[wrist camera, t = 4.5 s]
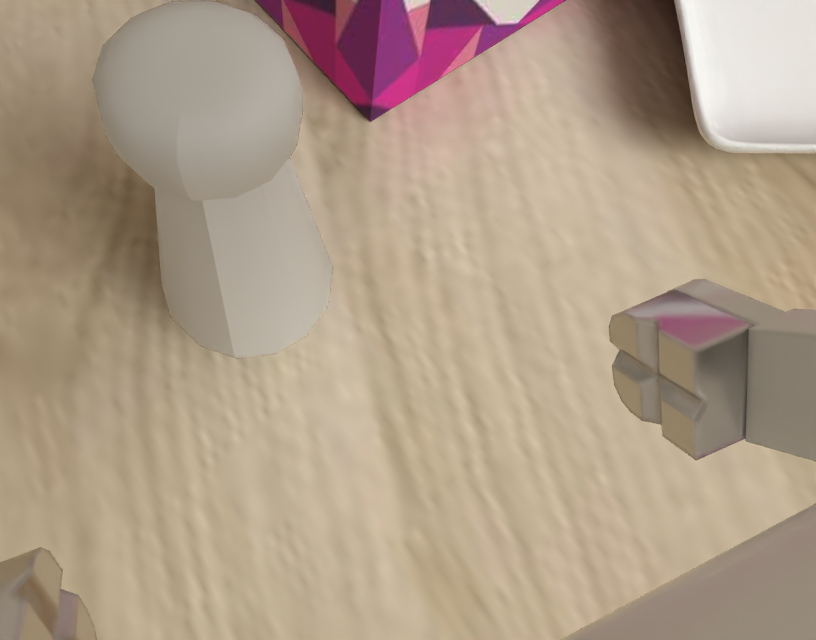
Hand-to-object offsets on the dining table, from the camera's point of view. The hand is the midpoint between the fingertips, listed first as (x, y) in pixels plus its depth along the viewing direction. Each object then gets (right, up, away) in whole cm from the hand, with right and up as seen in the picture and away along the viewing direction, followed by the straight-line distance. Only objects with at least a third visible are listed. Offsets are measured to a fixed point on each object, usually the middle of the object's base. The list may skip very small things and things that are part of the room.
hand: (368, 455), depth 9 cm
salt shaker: (-5, +2, +16) cm, 17 cm away
